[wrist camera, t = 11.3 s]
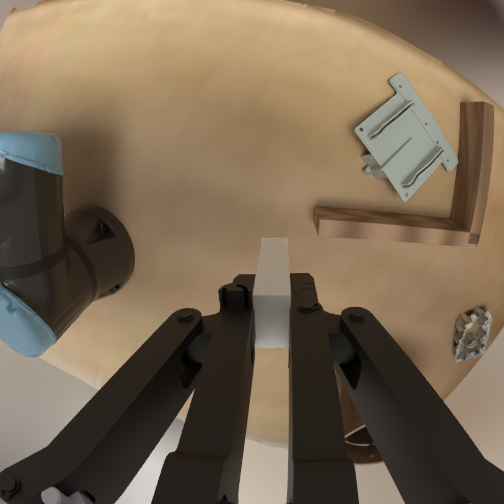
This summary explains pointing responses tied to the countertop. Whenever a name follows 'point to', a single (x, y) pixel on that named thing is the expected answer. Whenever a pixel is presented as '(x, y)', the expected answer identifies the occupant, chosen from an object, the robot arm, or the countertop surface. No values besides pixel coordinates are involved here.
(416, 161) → the metal bracket
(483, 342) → the egg carton
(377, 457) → the plant pot
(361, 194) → the countertop surface
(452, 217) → the wooden corner frame
